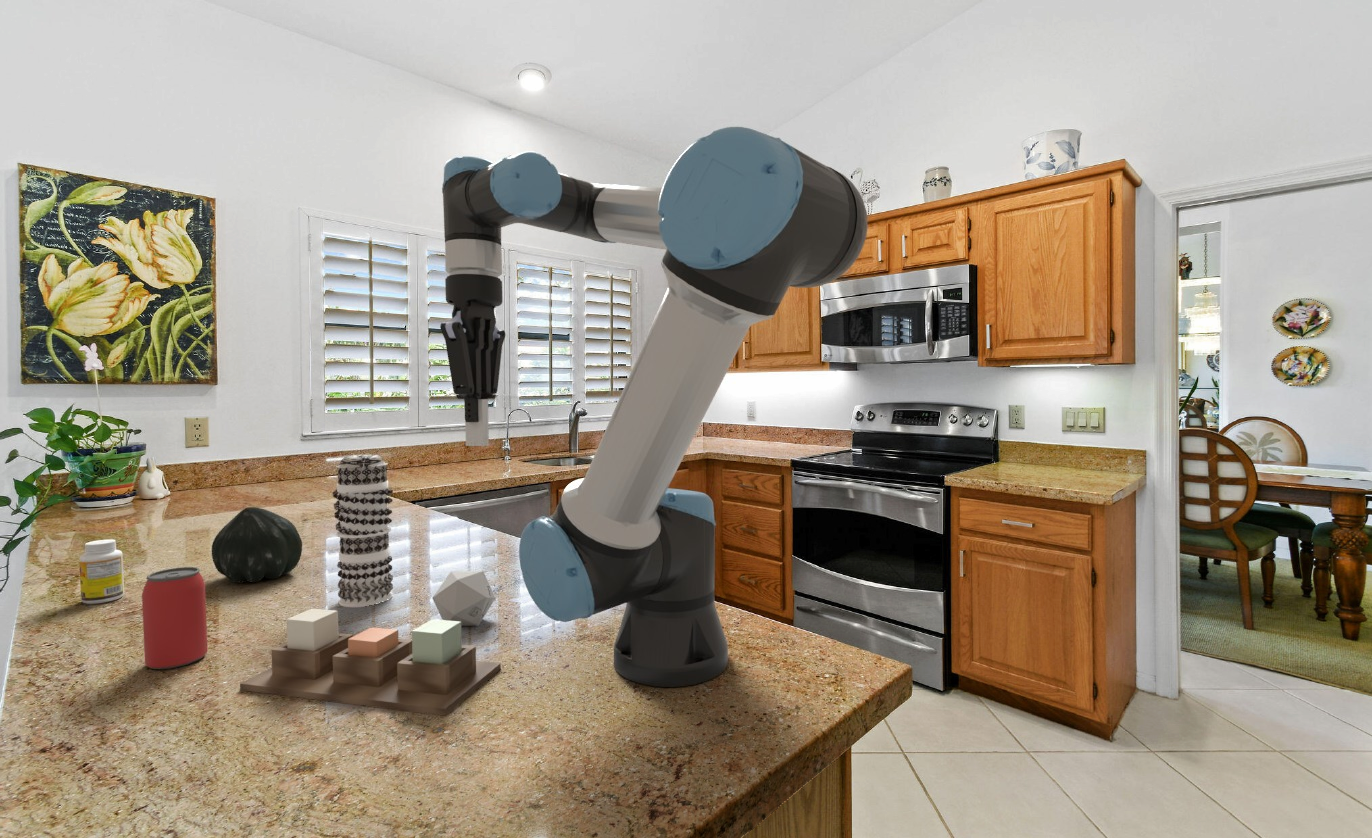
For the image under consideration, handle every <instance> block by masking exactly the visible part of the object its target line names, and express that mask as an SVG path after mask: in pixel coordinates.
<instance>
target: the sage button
mask: <svg viewBox="0 0 1372 838" xmlns="http://www.w3.org/2000/svg"><path fill="white" fill-rule="evenodd" d="M411 640H412V654H413V661H414V662H423V663H433V664H442V665H443V664H445V663H446V662H448V661H449V660H451V659H452V658H453V657H455V656H456V655H458V654H459V653H460V652H462V645H463V644H462V642H463V641H462V626H461V622H460V621H449V620H442V619H436V618H431V619H430V620H429V621H427V622H425V623H423V624H421V625H419V626H417V627H416V628H415V629H413V630H411Z"/></svg>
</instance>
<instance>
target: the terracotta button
mask: <svg viewBox="0 0 1372 838" xmlns="http://www.w3.org/2000/svg"><path fill="white" fill-rule="evenodd" d="M399 639H400V638H399V629H393V628H392V629H391V628H381V627H374V626H373V627H369V628H367V629H365V630H364V631H361V632H359V633H357V634H355V635H353V637H351V638H349V639H348V655H357V656H367V657H376V658H377V657H379V656H381V655H382V654H384V653H386V652H387V651H389V650H391V649H393V648H394V647H396V646H398V645H399Z"/></svg>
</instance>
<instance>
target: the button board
mask: <svg viewBox="0 0 1372 838" xmlns="http://www.w3.org/2000/svg"><path fill="white" fill-rule="evenodd" d="M338 634H339V639H337V640H335V641H333V642H331V643H329V644H327V645H325V646H323V647H321V648H319V649H317V650H315V651H310V650H300V649H291V648H287V642H285V643H283V644H280V645H277V646H276V647H274V648H272V649H271V651H270V652H271V668H269V669H267V670H264V671H262V672H260V673H258V674H256V675H254V676H252V677H250V678H248V679H246V680H244V681H242V682H240V683H239V690H240V691H247V692H253V693H259V694H270V695H276V696H284V697H294V698H301V699H310V700H317V701H325V702H333V703H341V704H349V705H356V706H363V705H366V706H365V707H371V708H380V709H387V710H388V709H389V710H394V711H395V710H398V711H403V712H404V711H406V712H412V713H420V714H428V715H435V716H442V717H445V716H448V714H450V713H451V712H452V711H454V710H455V708H456V707H458V706H459V705H461V703H463V702H464V701H465V700H466V699H467V698H469V696H471V695H472V694H473V693H474V692H476V691H477V690H478V689H479V688H480V687H482V686H483V685H484V684H485V683H486V682H487V681H488V680H490V679H491V678H492V677H493V676H495V675H496V674H498V672H499V671H500V670H501V668H502V667H501V664H502V663H500V662H493V661H491V662H490V661H483V660H482V661H481V660H477V648H476V645H475V646H474V645H465V644H462V652H460V653H459V654H458V655H456V656H455V657H453V658H452V659H451V660H449V661H448V662H446V663H445V664H443V665H442V664H433V663H423V662H414V661H413V654H412V639H407V638H406V639H404V638H398V639H399V645H398V646H396V647H394V648H393V649H391V650H389V651H387V652H386V653H384V654H382V655H381V656H379V657H377V658H376V657H367V656H357V655H348V639H349V638H351V637H353V636H354V634H352V633H343V632H342V633H341V632H338ZM372 706H373V707H372Z"/></svg>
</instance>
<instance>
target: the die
mask: <svg viewBox="0 0 1372 838" xmlns="http://www.w3.org/2000/svg"><path fill="white" fill-rule="evenodd" d="M432 600H433V601H432V602H434V605H435V607H436V610H437V611H438V613H439V614H440V618H441V620H449V621H460V622H461V627H463V626H465V627H474V626H475V627H476V626H477V627H478V626H480V625H481V623H482V621H483V619H484V618H485V616H486V615H487V613H488V611H489V609H491V607H492V604H494V601H495V600H496V597H495V595H494V592H493V590H492V587H491V584H489V581H488V578H487V576H486V574H485V572H484V570H471V571H470V570H469V571H468V570H466V571H465V570H464V571H463V570H462V571H459V570H458V571H456V570H455V571H454V570H452V571H450V572H449V574H448V575H447V576H446V578H445V579H444V581H443V582H442V584H441V585H440V586H439V588H438V589H437V590H436V591H435V593H434V594H433V596H432Z"/></svg>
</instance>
